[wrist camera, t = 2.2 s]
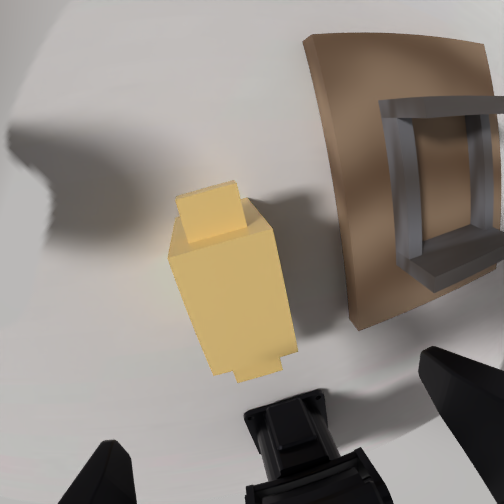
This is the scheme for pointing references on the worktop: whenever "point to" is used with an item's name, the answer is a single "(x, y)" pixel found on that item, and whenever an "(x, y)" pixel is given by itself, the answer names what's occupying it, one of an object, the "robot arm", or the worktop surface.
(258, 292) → the block
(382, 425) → the worktop surface
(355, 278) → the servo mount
